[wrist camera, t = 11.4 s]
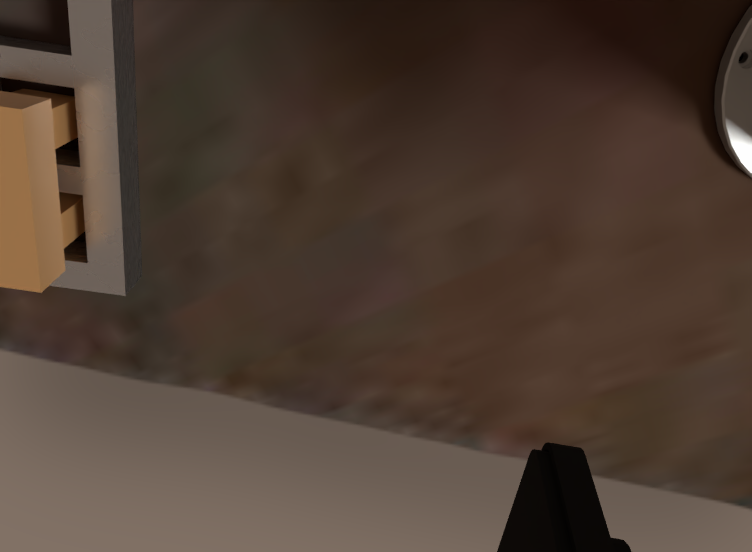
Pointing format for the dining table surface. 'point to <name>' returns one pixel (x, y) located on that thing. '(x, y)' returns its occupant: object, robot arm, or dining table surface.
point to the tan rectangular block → (35, 188)
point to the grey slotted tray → (94, 138)
